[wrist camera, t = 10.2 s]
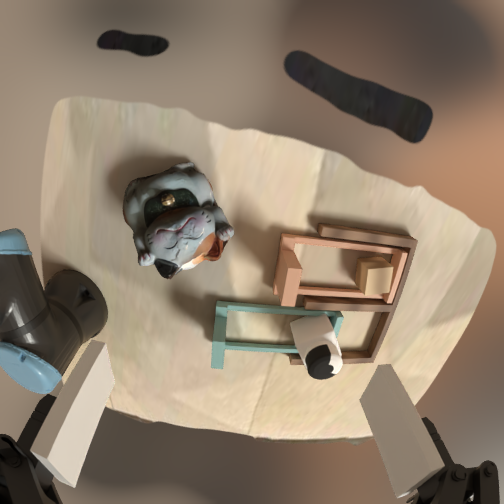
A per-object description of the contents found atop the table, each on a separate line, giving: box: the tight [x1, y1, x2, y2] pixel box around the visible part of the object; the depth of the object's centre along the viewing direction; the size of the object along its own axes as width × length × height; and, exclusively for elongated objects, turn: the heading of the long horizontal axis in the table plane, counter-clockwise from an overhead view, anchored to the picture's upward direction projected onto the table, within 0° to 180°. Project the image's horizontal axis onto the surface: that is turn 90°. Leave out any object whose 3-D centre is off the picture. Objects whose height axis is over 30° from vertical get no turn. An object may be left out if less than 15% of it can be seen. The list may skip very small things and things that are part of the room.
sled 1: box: [273, 233, 408, 307], centre depth 44 cm, size 23×10×9 cm, turn 83°
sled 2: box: [211, 301, 344, 369], centre depth 48 cm, size 23×10×9 cm, turn 83°
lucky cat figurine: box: [123, 162, 234, 279], centre depth 39 cm, size 15×12×14 cm
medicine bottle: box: [290, 314, 343, 380], centre depth 48 cm, size 7×7×12 cm
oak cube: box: [355, 256, 393, 296], centre depth 47 cm, size 5×5×5 cm
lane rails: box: [289, 223, 418, 365], centre depth 50 cm, size 19×28×2 cm
